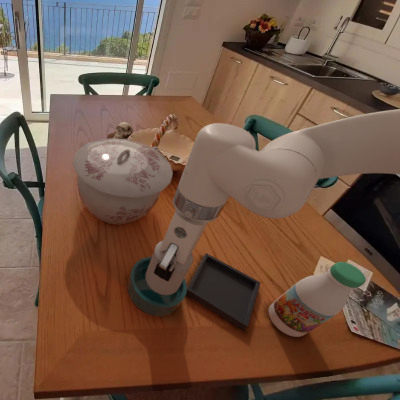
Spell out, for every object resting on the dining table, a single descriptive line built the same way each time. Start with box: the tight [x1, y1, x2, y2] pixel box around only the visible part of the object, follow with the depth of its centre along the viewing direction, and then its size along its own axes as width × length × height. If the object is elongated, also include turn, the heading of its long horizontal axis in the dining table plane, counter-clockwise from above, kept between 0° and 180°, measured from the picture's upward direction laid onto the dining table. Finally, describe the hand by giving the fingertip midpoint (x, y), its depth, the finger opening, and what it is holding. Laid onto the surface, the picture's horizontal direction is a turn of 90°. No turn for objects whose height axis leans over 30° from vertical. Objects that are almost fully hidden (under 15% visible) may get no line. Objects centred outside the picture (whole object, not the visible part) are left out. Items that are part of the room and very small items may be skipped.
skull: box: [106, 121, 134, 139], centre depth 115 cm, size 12×10×10 cm
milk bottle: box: [268, 261, 367, 338], centre depth 54 cm, size 8×8×20 cm
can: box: [146, 239, 194, 295], centre depth 56 cm, size 8×8×12 cm
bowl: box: [126, 256, 188, 317], centre depth 63 cm, size 13×13×5 cm
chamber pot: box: [72, 138, 174, 226], centre depth 78 cm, size 28×28×21 cm
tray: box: [185, 252, 262, 331], centre depth 65 cm, size 14×14×2 cm
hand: (169, 262), depth 56 cm, fingers closed on can, 7 cm apart
